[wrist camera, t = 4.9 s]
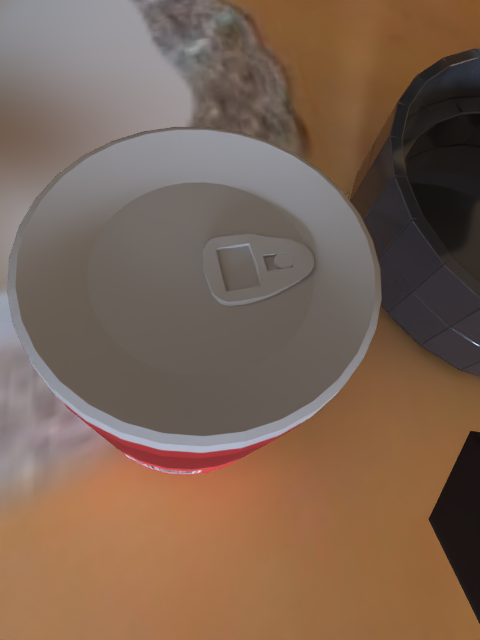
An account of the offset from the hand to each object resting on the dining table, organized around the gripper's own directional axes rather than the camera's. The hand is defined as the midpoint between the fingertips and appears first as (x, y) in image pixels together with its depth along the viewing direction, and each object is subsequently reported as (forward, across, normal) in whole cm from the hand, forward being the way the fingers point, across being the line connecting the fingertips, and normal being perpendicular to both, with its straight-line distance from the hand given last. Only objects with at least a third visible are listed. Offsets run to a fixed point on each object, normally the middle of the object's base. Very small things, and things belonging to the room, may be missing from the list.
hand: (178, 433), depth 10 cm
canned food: (+9, 0, -4) cm, 10 cm away
